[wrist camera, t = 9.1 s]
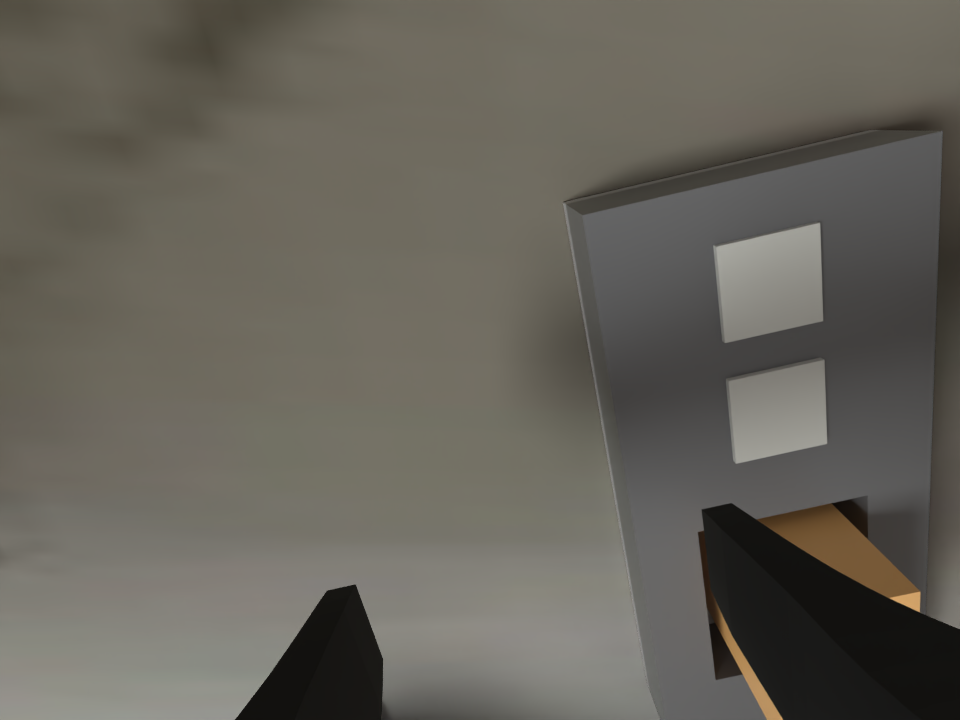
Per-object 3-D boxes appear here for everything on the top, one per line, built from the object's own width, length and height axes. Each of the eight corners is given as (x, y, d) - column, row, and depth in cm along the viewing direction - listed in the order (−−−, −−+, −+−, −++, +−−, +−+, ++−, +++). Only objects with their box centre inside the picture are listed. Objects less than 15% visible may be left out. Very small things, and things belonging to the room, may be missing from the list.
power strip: (646, 679, 26) (671, 749, 23) (562, 202, 19) (583, 216, 16) (871, 632, 26) (927, 698, 23) (870, 129, 19) (948, 130, 16)
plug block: (706, 606, 25) (782, 749, 19) (694, 499, 23) (774, 621, 17) (808, 585, 25) (915, 722, 19) (803, 476, 23) (920, 591, 17)
